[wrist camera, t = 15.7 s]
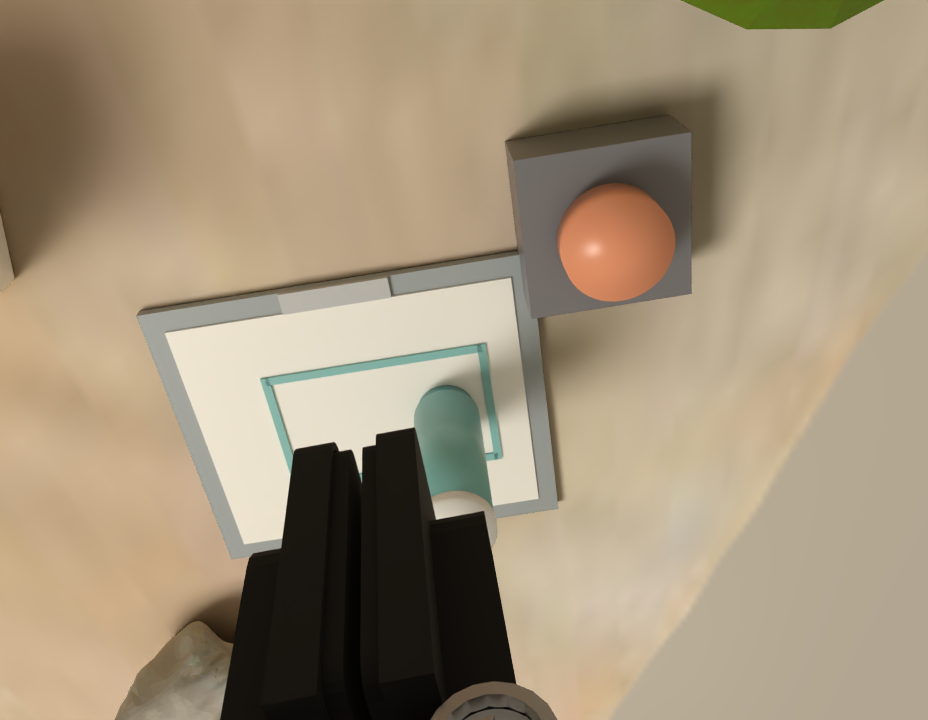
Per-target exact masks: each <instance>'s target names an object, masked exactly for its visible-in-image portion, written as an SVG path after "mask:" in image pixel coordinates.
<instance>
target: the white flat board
mask: <svg viewBox="0 0 928 720" xmlns="http://www.w3.org/2000/svg"><path fill="white" fill-rule="evenodd" d="M136 317H137V319H138V322H139V324H140V327H141V329H142V332H143V334H144V337H145V340H146V342H147V345H148V347H149V350H150V352H151V355H152V357H153V360H154V363H155V365H156V368H157V370H158V373H159V375H160V378H161V380H162V383H163V385H164V388H165V391H166V393H167V396H168V398H169V401H170V403H171V406H172V408H173V411H174V414H175V416H176V419H177V421H178V424H179V426H180V429H181V431H182V434H183V436H184V439H185V442H186V444H187V447H188V449H189V452H190V454H191V457H192V459H193V462H194V465H195V467H196V470H197V472H198V475H199V477H200V480H201V482H202V485H203V488H204V490H205V493H206V495H207V498H208V500H209V503H210V505H211V508H212V510H213V513H214V516H215V518H216V521H217V523H218V526H219V528H220V531H221V533H222V536H223V539H224V541H225V544H226V546H227V549H228V551H229V554H230V556H231V559H237V558H244V557H250V556H251V555H252V554H253V553H257V552H263V551H268V550H274V549H279V548H281V545H282V537H283V529H284V522H285V514H286V506H287V499H288V491H289V483H290V475H291V468H292V460H293V454H294V450H295V449H298V448H303V447H309V446H314V445H320V444H325V443H331V442H335V443H336V445H337V447H338V449H339V451H345V450H350V449H351V450H352V451H353V453H354V457H355V460H356V463H357V467H358V471H359V474H360V478H361V481H362V448H363V447H367V446H372V445H376V434H380V433H385V432H391V431H396V430H402V429H407V428H413V427H414V413H415V409H416V407H417V405H418V404H419V402H420V400H421V398H422V396H423V395H424V394H425V393H426V392H427V391H429V390H430V389H432V388H434V387H437V386H442V385H452V386H457V387H459V388H461V389H463V390H465V391H466V392H467V393H468V394H469V395H470V396H471V398H472V399H473V400H474V402H475V403H476V405H477V407H478V409H479V414H480V421H481V428H482V434H483V441H484V448H485V455H486V462H487V469H488V476H489V483H490V490H491V497H492V504H493V510H494V513H495V516H496V518H502V517H508V516H515V515H521V514H528V513H534V512H541V511H547V510H554V509H558V501H557V492H556V483H555V473H554V464H553V455H552V446H551V437H550V428H549V419H548V410H547V401H546V392H545V383H544V374H543V364H542V355H541V346H540V337H539V328H538V319H537V318H535V319H531V316H530V313H529V310H528V306H527V303H526V300H525V297H524V291H523V283H522V274H521V266H520V257H519V253H518V251H513V252H507V253H500V254H494V255H488V256H482V257H475V258H469V259H463V260H457V261H450V262H444V263H438V264H432V265H425V266H419V267H413V268H407V269H400V270H394V271H388V272H382V273H375V274H369V275H363V276H357V277H350V278H344V279H338V280H332V281H325V282H319V283H313V284H306V285H300V286H294V287H288V288H281V289H275V290H269V291H263V292H256V293H250V294H244V295H238V296H231V297H225V298H219V299H213V300H206V301H200V302H194V303H188V304H181V305H175V306H169V307H163V308H156V309H150V310H144V311H139V313H138V314H137V316H136Z"/></svg>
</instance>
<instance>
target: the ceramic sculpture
mask: <svg viewBox="0 0 928 720" xmlns="http://www.w3.org/2000/svg"><path fill="white" fill-rule="evenodd" d="M232 649H233V643H228V642H225V641H223V640H221V639H220V638H219V637H217V635H216V634H215V633H214V632H213V631H212V630H211V629H210V628H209V627H208V626H207V625H206V624H205V623H203V622H200V621H195V622H193V623H190V624H188V625H187V626H186V627H185V628H184V629H183V630H182V631H180V632H179V633H178V634H177V635H175V636H174V637H173V638H172V639H171V640H170V641H169V642H168V643H167V644H166V645H165V646H164V647H163V648H162V649H161V651H160V652H159V653H158V654H157V656H156V657H155V658H154V659H153V660H152V661H150V662H149V663H148V664H147V665H146V666H145V667H143V668H142V669H141V670H140V672H139V673H138V674H137V676H136V678H135V681H134V683H133V685H132V686H131V687H130V690H129V692H128V695H127V697H126V699H125V700H124V702H123V703H122V705H121V706H120V709H119V711H118V713H117V716H116V718H115V720H220V717H221V711H222V705H223V700H224V694H225V688H226V683H227V677H228V671H229V666H230V660H231V654H232Z"/></svg>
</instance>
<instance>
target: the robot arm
mask: <svg viewBox="0 0 928 720" xmlns="http://www.w3.org/2000/svg"><path fill="white" fill-rule="evenodd" d="M220 720H557V718H556V716H555V715H554V713H553V712H552V710H551V708H550V707H549V705H548V704H547V703H546V702H545V701H544V700H543V699H541V698H540V697H539V696H538V695H537V694H535V693H534V692H533V691H531V690H529V689H526V688H524V687H521V686H519V685H517V684H516V680H515V675H514V669H513V664H512V658H511V653H510V648H509V642H508V637H507V631H506V626H505V620H504V615H503V610H502V604H501V599H500V593H499V588H498V582H497V577H496V572H495V566H494V561H493V555H492V550H491V545H490V539H489V534H488V528H487V523H486V518H485V512H484V511H480V512H475V513H470V514H464V515H459V516H453V517H448V518H442V519H437V520H436V517H435V512H434V508H433V503H432V499H431V494H430V490H429V485H428V481H427V477H426V472H425V468H424V463H423V459H422V454H421V450H420V445H419V441H418V437H417V433H416V429H415V427H413V428H407V429H402V430H396V431H391V432H385V433H380V434H376V445H372V446H367V447H363V448H362V481H361V478H360V474H359V471H358V467H357V463H356V460H355V457H354V453H353V451H352V450H351V449H350V450H345V451H339V449H338V447H337V445H336V443H335V442H331V443H325V444H320V445H314V446H309V447H303V448H298V449H295V450H294V454H293V460H292V468H291V475H290V483H289V491H288V499H287V506H286V514H285V522H284V529H283V537H282V545H281V548H279V549H274V550H268V551H263V552H257V553H253V554H252V555H251V557H250V558H249V561H248V565H247V569H246V575H245V580H244V586H243V592H242V598H241V603H240V609H239V615H238V620H237V626H236V632H235V637H234V643H233V649H232V654H231V660H230V666H229V671H228V677H227V683H226V688H225V694H224V700H223V705H222V711H221V717H220Z"/></svg>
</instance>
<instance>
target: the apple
mask: <svg viewBox="0 0 928 720" xmlns="http://www.w3.org/2000/svg"><path fill="white" fill-rule="evenodd" d="M682 1H684V2H686V3H688V4H691V5H693V6H695V7H698V8H700V9H702V10H704V11H707V12H709V13H711V14H713V15H716V16H718V17H720V18H722V19H725V20H727V21H729V22H731V23H734V24H736V25H738V26H740V27H743V28H745V29H822V28H832V27H834V26H836V25H838V24H840V23H841V22H843V21H845V20H847V19H849V18H851V17H853V16H855V15H857V14H859V13H860V12H862V11H864V10H866V9H868V8H870V7H872V6H874V5H876V4H878V3H879V2H881V1H883V0H682Z"/></svg>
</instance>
